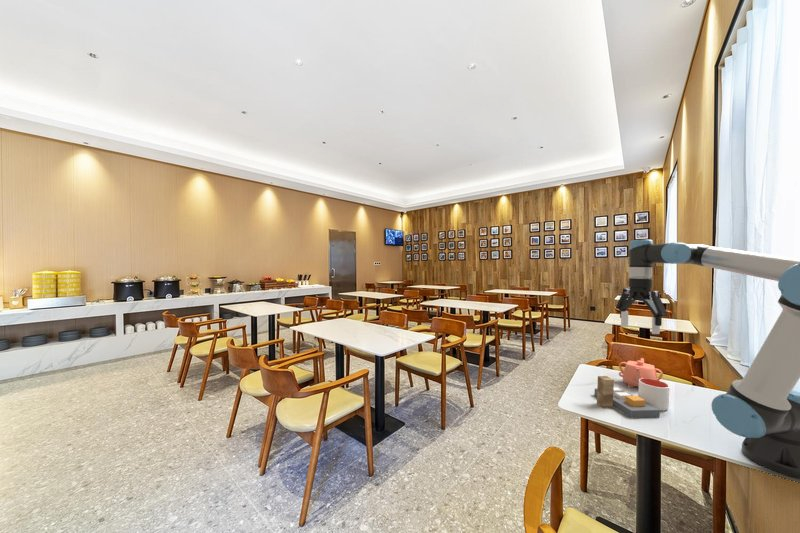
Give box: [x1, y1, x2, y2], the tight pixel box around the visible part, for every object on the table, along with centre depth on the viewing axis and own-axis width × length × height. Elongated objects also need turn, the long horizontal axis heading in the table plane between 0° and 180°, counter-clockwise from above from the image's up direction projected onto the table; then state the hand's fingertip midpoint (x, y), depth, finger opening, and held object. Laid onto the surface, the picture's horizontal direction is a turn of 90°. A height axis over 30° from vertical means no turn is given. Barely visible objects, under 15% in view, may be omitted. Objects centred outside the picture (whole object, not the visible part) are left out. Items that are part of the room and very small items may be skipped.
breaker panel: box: [594, 386, 661, 419], centre depth 129 cm, size 20×12×4 cm, turn 5°
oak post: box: [596, 375, 615, 409], centre depth 128 cm, size 4×4×12 cm
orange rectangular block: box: [625, 395, 645, 407], centre depth 124 cm, size 4×5×3 cm
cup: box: [637, 378, 671, 412], centre depth 129 cm, size 10×10×10 cm
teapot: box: [618, 357, 664, 388], centre depth 149 cm, size 15×17×13 cm
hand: (639, 330), depth 124 cm, fingers open, 13 cm apart
